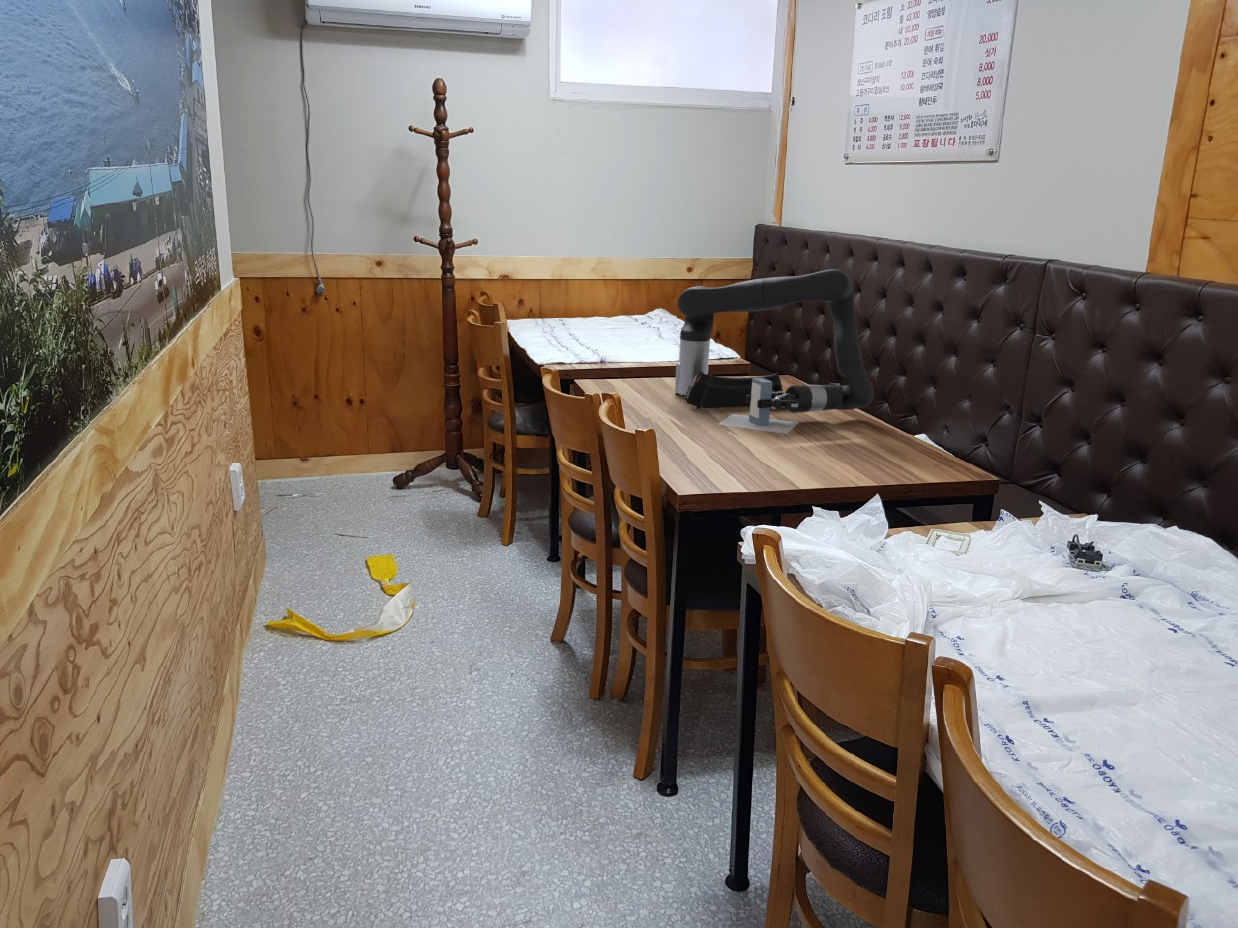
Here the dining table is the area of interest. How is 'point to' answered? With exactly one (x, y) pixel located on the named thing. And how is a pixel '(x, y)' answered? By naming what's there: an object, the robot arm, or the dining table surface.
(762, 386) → the placard
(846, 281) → the robot arm
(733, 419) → the mat
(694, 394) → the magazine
